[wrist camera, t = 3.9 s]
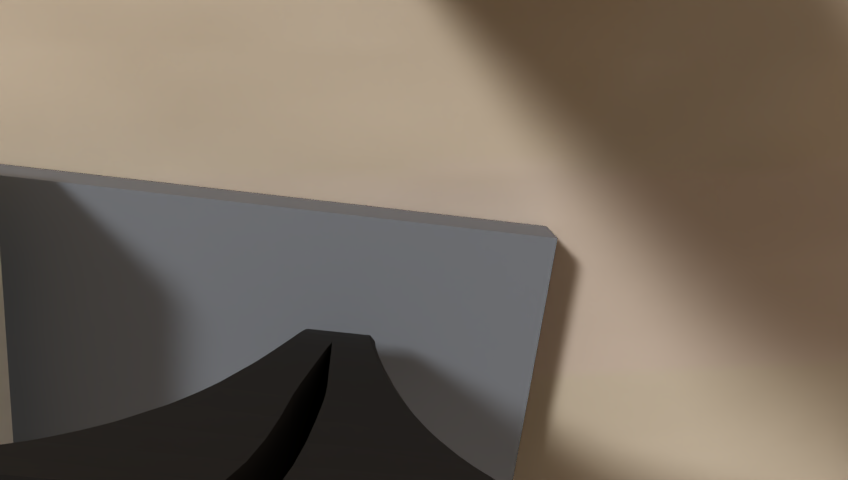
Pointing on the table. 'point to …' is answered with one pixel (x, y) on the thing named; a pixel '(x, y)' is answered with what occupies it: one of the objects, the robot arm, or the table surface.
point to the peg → (4, 378)
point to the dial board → (260, 301)
